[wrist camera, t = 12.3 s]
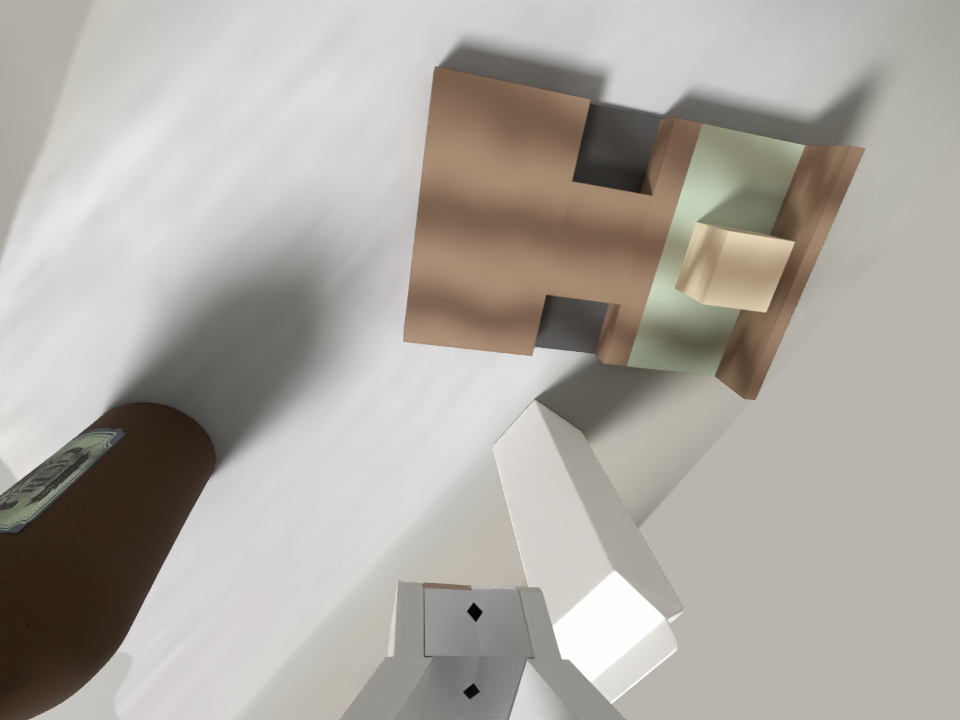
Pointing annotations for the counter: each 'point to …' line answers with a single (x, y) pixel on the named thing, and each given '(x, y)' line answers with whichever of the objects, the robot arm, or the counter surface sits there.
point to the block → (733, 267)
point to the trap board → (603, 229)
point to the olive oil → (90, 547)
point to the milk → (585, 554)
